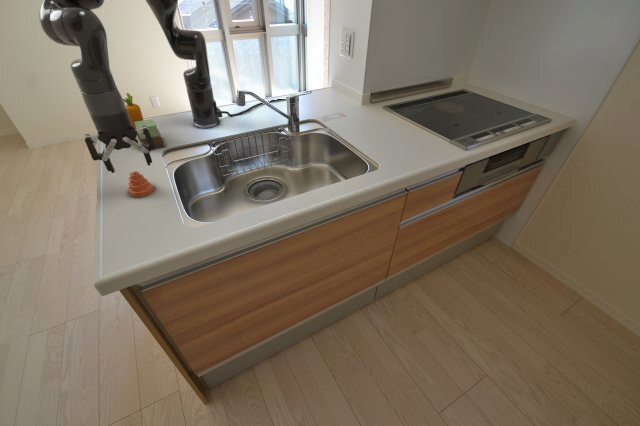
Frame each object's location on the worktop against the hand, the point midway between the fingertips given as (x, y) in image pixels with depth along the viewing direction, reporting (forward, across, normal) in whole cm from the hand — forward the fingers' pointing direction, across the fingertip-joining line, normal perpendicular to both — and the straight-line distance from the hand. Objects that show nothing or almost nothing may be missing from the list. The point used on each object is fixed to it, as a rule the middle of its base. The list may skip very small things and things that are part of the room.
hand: (131, 167), depth 79 cm
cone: (+8, 0, 0) cm, 8 cm away
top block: (+4, +7, +28) cm, 29 cm away
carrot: (+8, +5, +38) cm, 39 cm away
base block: (+8, +7, +28) cm, 30 cm away
